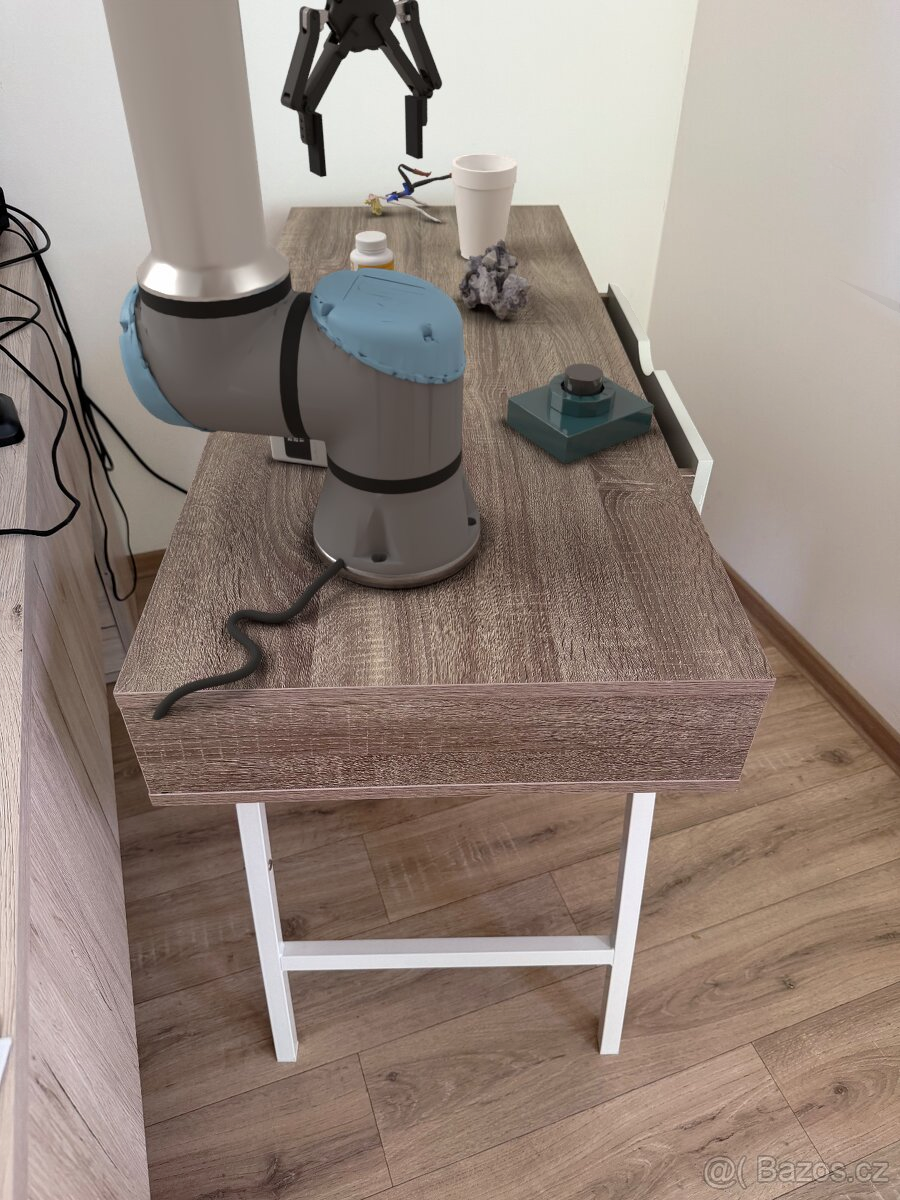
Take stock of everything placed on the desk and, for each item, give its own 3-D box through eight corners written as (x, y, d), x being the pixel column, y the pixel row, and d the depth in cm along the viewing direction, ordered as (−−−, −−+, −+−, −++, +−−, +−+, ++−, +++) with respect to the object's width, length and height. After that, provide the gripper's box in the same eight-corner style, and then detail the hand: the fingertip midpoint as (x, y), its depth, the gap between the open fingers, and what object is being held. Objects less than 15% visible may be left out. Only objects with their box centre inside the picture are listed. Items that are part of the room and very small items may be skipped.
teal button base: (565, 464, 94) (569, 421, 91) (506, 423, 101) (508, 382, 97) (649, 431, 100) (657, 389, 96) (589, 394, 106) (593, 354, 103)
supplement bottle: (403, 315, 122) (401, 237, 116) (369, 326, 119) (365, 246, 113) (379, 302, 125) (375, 225, 119) (345, 312, 123) (340, 234, 116)
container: (343, 471, 93) (334, 351, 85) (271, 461, 94) (255, 342, 86) (366, 433, 99) (359, 317, 90) (298, 424, 100) (285, 309, 92)
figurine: (368, 247, 160) (479, 213, 157) (361, 247, 152) (477, 211, 149) (350, 185, 157) (463, 149, 154) (342, 181, 149) (461, 144, 146)
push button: (580, 402, 95) (582, 384, 94) (555, 387, 98) (557, 369, 96) (608, 392, 97) (611, 374, 95) (584, 377, 99) (585, 359, 98)
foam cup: (440, 248, 141) (441, 157, 133) (494, 239, 144) (497, 150, 136) (467, 269, 135) (469, 175, 126) (523, 259, 138) (528, 167, 129)
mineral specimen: (537, 303, 116) (512, 224, 114) (468, 329, 118) (442, 251, 116) (537, 312, 128) (514, 240, 126) (474, 335, 129) (451, 265, 128)
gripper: (265, -41, 89) (289, 190, 103) (473, -55, 100) (469, 156, 113) (233, -49, 93) (259, 173, 107) (435, -61, 104) (435, 142, 118)
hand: (367, 165), depth 110 cm, fingers open, 13 cm apart
